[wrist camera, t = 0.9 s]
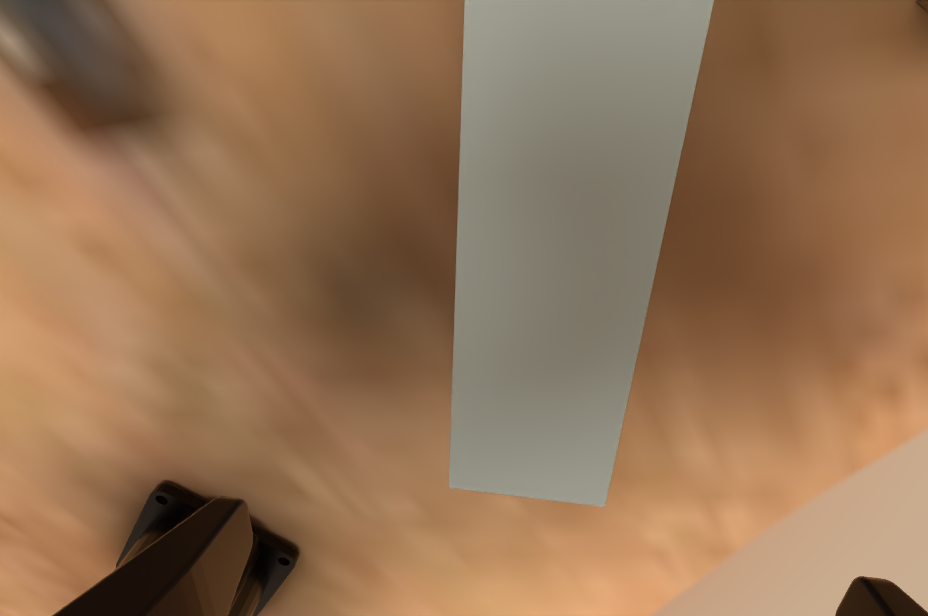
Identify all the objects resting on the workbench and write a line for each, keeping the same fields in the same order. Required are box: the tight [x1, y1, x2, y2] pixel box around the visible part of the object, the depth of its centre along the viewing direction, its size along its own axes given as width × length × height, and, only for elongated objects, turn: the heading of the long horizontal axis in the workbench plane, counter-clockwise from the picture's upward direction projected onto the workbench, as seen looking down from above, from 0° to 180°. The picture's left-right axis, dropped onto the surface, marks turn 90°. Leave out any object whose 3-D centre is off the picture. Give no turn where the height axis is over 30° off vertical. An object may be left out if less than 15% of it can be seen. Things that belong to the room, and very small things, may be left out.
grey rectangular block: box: [449, 0, 714, 507], centre depth 14 cm, size 12×4×5 cm, turn 178°
